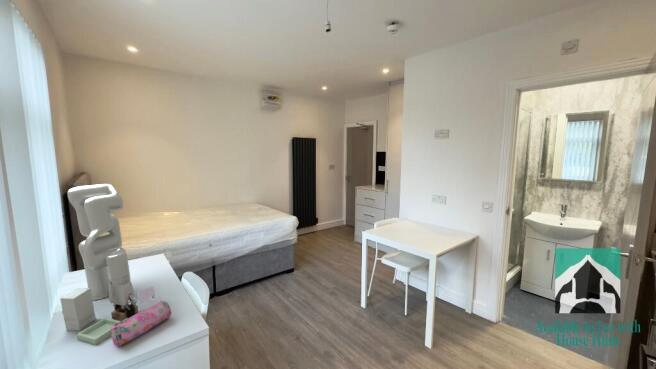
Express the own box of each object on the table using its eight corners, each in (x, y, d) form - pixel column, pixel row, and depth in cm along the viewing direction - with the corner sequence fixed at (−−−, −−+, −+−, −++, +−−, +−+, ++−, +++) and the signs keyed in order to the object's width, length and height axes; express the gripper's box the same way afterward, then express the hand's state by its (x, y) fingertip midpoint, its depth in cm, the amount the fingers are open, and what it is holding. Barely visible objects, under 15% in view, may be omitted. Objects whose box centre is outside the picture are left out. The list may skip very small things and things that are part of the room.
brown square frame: (112, 319, 122) (111, 312, 121) (127, 310, 128) (126, 303, 128) (123, 321, 119) (122, 314, 119) (138, 312, 126) (137, 305, 126)
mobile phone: (153, 285, 149) (156, 297, 137) (153, 287, 149) (156, 299, 138) (137, 290, 144) (138, 303, 133) (137, 292, 145) (138, 304, 133)
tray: (77, 339, 109) (76, 334, 108) (106, 322, 119) (105, 317, 119) (95, 345, 106) (94, 339, 105) (124, 327, 116) (123, 321, 116)
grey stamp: (118, 317, 123) (116, 300, 121) (126, 312, 126) (124, 296, 125) (124, 318, 122) (121, 301, 120) (132, 314, 125) (129, 297, 124)
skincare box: (83, 318, 123) (77, 287, 120) (97, 318, 122) (92, 287, 120) (65, 331, 114) (58, 297, 112) (79, 331, 114) (73, 297, 112)
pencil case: (119, 352, 102) (115, 330, 101) (108, 343, 106) (104, 323, 105) (174, 319, 120) (172, 301, 119) (162, 313, 125) (160, 296, 123)
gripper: (97, 280, 120) (103, 316, 123) (125, 285, 115) (131, 323, 118) (115, 272, 127) (120, 306, 130) (142, 277, 122) (146, 312, 125)
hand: (125, 314), depth 124 cm, fingers closed on brown square frame, 7 cm apart
